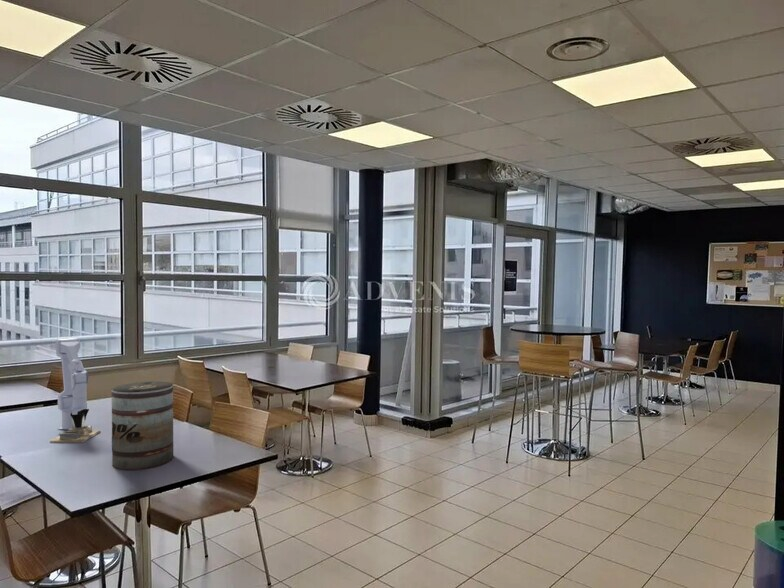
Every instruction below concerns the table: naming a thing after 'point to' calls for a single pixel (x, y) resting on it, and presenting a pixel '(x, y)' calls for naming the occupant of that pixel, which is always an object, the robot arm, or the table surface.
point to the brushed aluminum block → (81, 425)
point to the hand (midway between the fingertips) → (80, 426)
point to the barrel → (142, 425)
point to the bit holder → (75, 435)
